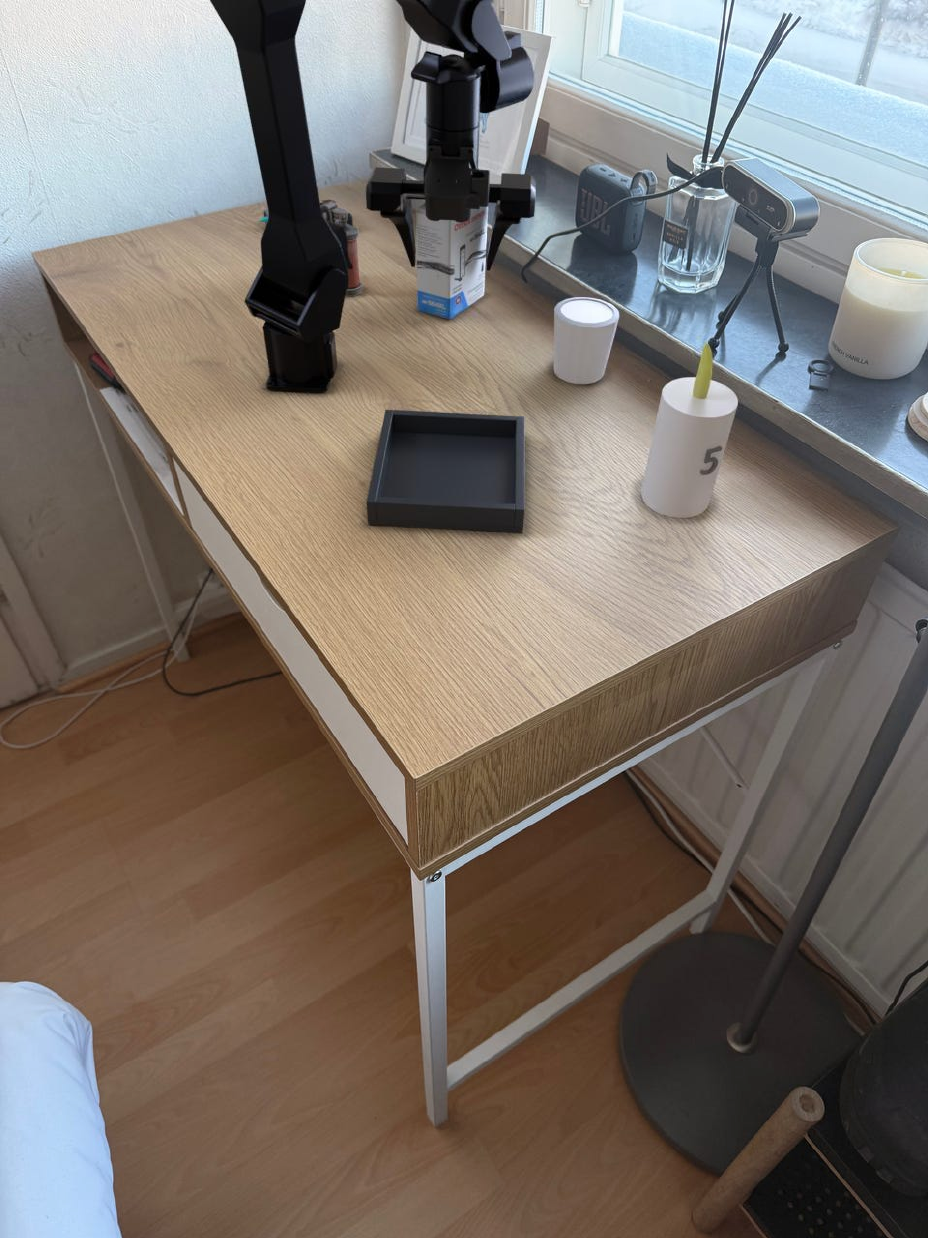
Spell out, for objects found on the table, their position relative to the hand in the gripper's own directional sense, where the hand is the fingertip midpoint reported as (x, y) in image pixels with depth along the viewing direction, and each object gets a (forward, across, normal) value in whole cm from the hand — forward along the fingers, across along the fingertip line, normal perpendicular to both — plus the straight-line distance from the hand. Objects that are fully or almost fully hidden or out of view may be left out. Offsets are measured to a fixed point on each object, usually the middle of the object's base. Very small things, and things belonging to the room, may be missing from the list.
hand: (450, 267), depth 103 cm
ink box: (+4, 0, 0) cm, 5 cm away
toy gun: (+5, -21, +19) cm, 29 cm away
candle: (+4, +23, -37) cm, 44 cm away
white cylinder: (+4, +15, -15) cm, 22 cm away
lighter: (+4, -15, +3) cm, 16 cm away
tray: (+4, +2, -36) cm, 36 cm away
